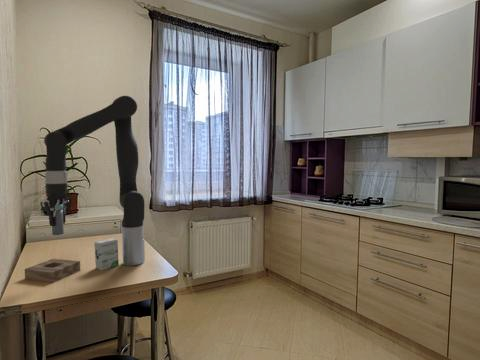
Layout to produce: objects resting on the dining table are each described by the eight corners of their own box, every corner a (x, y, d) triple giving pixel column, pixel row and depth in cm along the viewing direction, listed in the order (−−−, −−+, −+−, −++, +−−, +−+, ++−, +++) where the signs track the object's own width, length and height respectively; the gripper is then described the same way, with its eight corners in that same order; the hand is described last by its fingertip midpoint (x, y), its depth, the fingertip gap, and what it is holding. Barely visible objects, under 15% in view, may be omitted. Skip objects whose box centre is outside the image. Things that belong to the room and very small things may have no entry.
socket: (54, 267, 140) (53, 258, 140) (80, 270, 137) (80, 261, 136) (25, 278, 127) (24, 269, 127) (53, 282, 123) (52, 272, 123)
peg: (57, 232, 130) (57, 203, 130) (66, 233, 129) (65, 203, 129) (49, 234, 126) (48, 204, 126) (58, 235, 125) (57, 205, 124)
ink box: (113, 263, 146) (112, 237, 145) (119, 265, 143) (118, 239, 142) (94, 268, 139) (93, 241, 139) (100, 270, 136) (99, 243, 136)
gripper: (49, 183, 119) (50, 229, 120) (77, 181, 132) (78, 222, 134) (33, 183, 121) (34, 228, 122) (62, 180, 134) (63, 221, 135)
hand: (57, 224), depth 128 cm, fingers closed on peg, 4 cm apart
